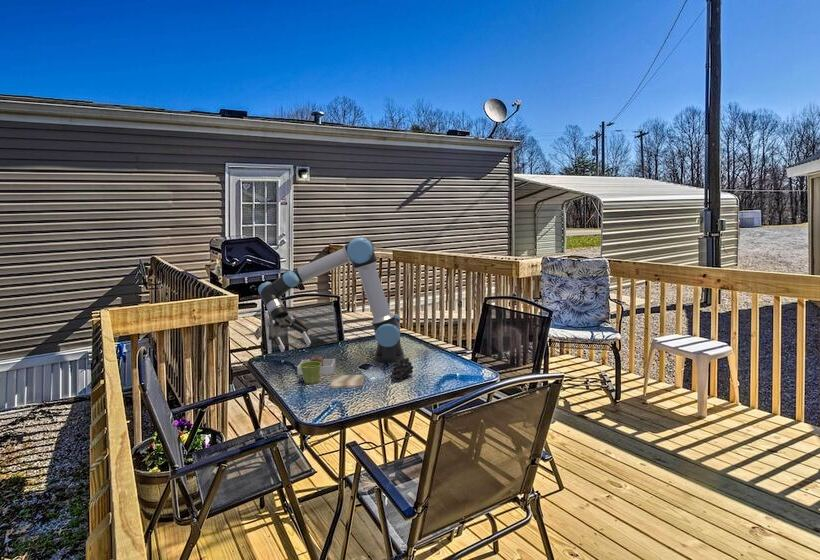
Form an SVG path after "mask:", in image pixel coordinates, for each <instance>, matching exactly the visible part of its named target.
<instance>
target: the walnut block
mask: <svg viewBox="0 0 820 560" xmlns="http://www.w3.org/2000/svg"><path fill="white" fill-rule="evenodd" d="M323 357H324V356H317V355H316V356H311V358H310V359H309V360H310V361H318V362H321V363H322V365H321V366H323V359H324V358H323Z"/></svg>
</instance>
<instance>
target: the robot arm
mask: <svg viewBox="0 0 820 560" xmlns="http://www.w3.org/2000/svg"><path fill="white" fill-rule="evenodd" d="M374 249H375V247H374V243H373V241H372V240H371V239H370V238H369V237H366V236H358V237H356V238H353V239H352V240H350V242H349V243H347V244H345V245H343V247H342V248H340V249H338V250H337V251H334V252H332V253H330V254H327V255H325V256H322V257H321V258H318V259H315V260H313V261H312V262H310V263H307V264H304V265H302V266H300V267H298V268H296V269H293V270H288V271H286V272H284V273H283V274H282V275H281V276H280V277H278V278H277V279H275V280H274V281H273V282H271V281H265V282H263V283H261V284H260V285H259V286H258V288H257V291H258V294H259V297H260V298H261V299H262V301H263V303H264V305H265V307H266V309H267V311H268V313H269V315H270V317H271V319H269V321H268V322H267V324H268V327H269V328H268V340H269V341H271V340H272V342H274V343H275V345H276V346H277V347H278V348H279V350H280V352H281V353H283V352H285V350H286V348H285V347H286V346H285V345H284V344H283V342H282V340H281V337H280V336H278V335H279V333H280V329H285V328H289V329H290V328H291V329H293V330H295V331H297V332H298V333H300V334H301V336H302V339H303V340H304V342H305V343H306V346H307V347H310V345H311V344H312V342H311V339H310V335H309V333H308V331H309V330H310V328H309V326H307V325H306V324H305V323H304V322H302V320H300V319H299V318H298V317H297V316H296V315H293V316H290V315H289V312H288V309H287V308H286V307H285V304H284V303H283V301H282V299H281V298H280V297H282V296H284V294H286V293H287V292H289V291H290V290H291V289H293V288H295V287H297V286H298V285H301V284H303V283H305V282H308V281H309V280H312V279H314V278H316V277H318V276H321V275H323V274H326V273H327V272H330V271H332V270H335V269H337V268H339V267H342V266H343V265H346V264H348V263H350V264H352V267H353V270H355V271H357V273H358V275H359V278H360V281H361V283H362V284H361V285H362V287H363V290H364V293H365V296H366V300H367V303H368V306H369V308H370V311H371V315H372V317H373V318H372V321H371V324H372V327H373V331H374V337H375V341H376V342H377V345H376V349H375V351H374V360H375V361H377V362H382V363H383V362H384V363H396V362H397V360H398V359H399V360H401V358H404V359H405V352H404V350H403V346H402V344H401V328H400V327H401V323H400V322H401V318H400V314H398V313H392V312H391V310H390V307H389V304H388V301H387V298H386V294H385V291H384V289H383V285H382V282H381V280H380V276H379V273H378V269H377V266H376V264H377V262H378V259H377V256H376V253H375V250H374ZM275 325H276V329H275V331H274V326H275Z"/></svg>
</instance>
